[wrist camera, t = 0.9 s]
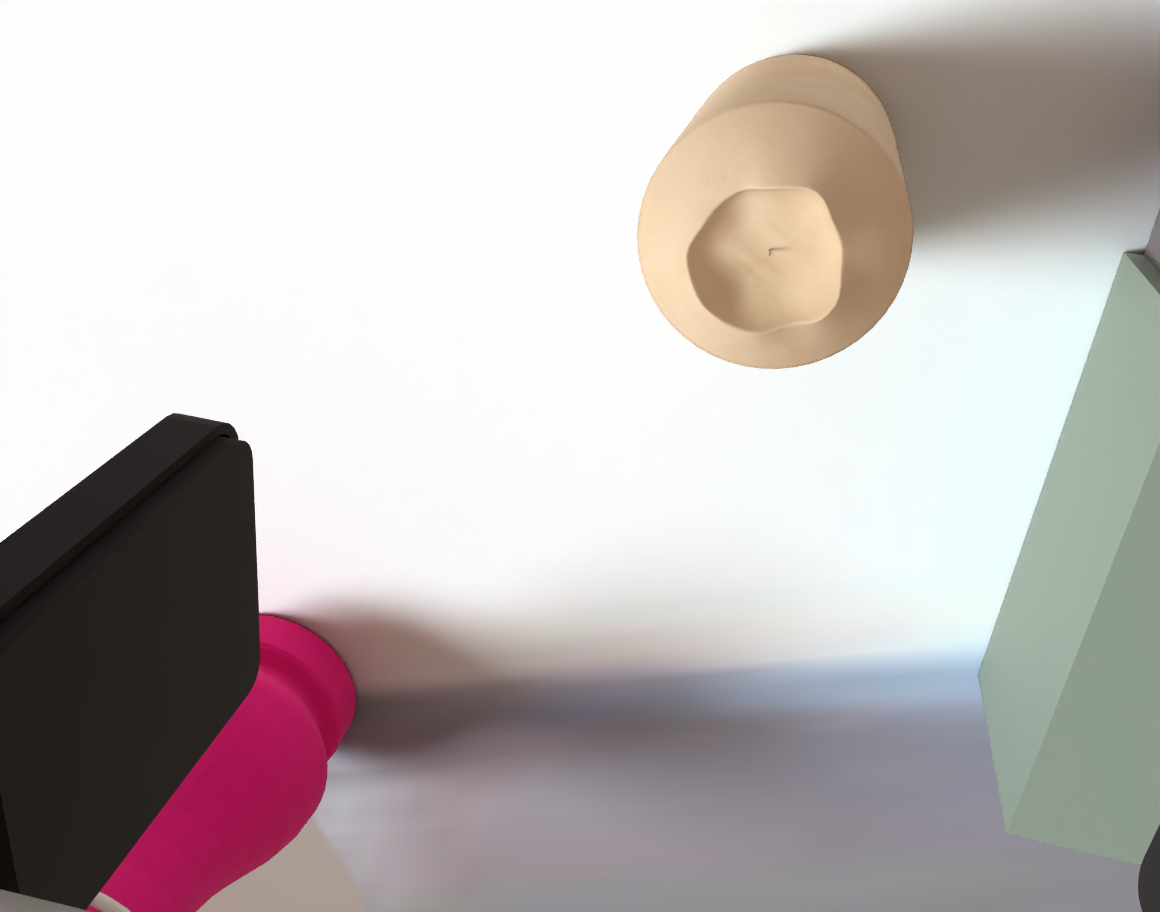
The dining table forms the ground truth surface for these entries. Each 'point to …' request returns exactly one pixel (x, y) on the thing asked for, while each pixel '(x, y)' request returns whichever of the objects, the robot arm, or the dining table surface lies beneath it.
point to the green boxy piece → (1090, 605)
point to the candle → (779, 216)
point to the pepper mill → (244, 781)
